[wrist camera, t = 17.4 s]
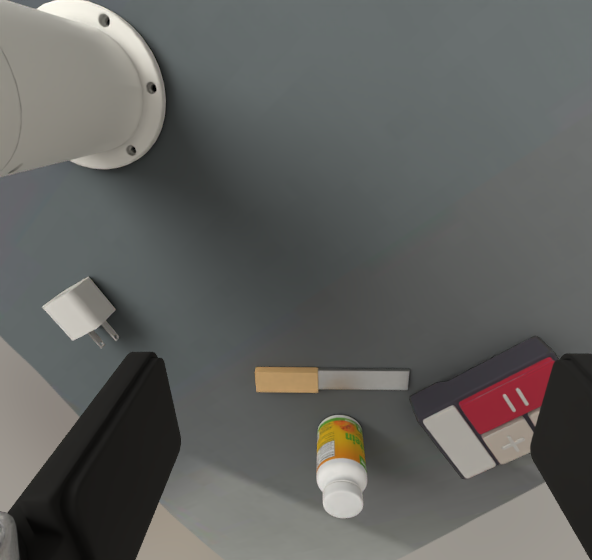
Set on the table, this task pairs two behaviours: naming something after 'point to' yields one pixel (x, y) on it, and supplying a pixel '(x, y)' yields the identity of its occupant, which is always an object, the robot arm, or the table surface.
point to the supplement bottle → (341, 465)
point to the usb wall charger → (82, 311)
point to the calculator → (487, 408)
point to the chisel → (328, 379)
